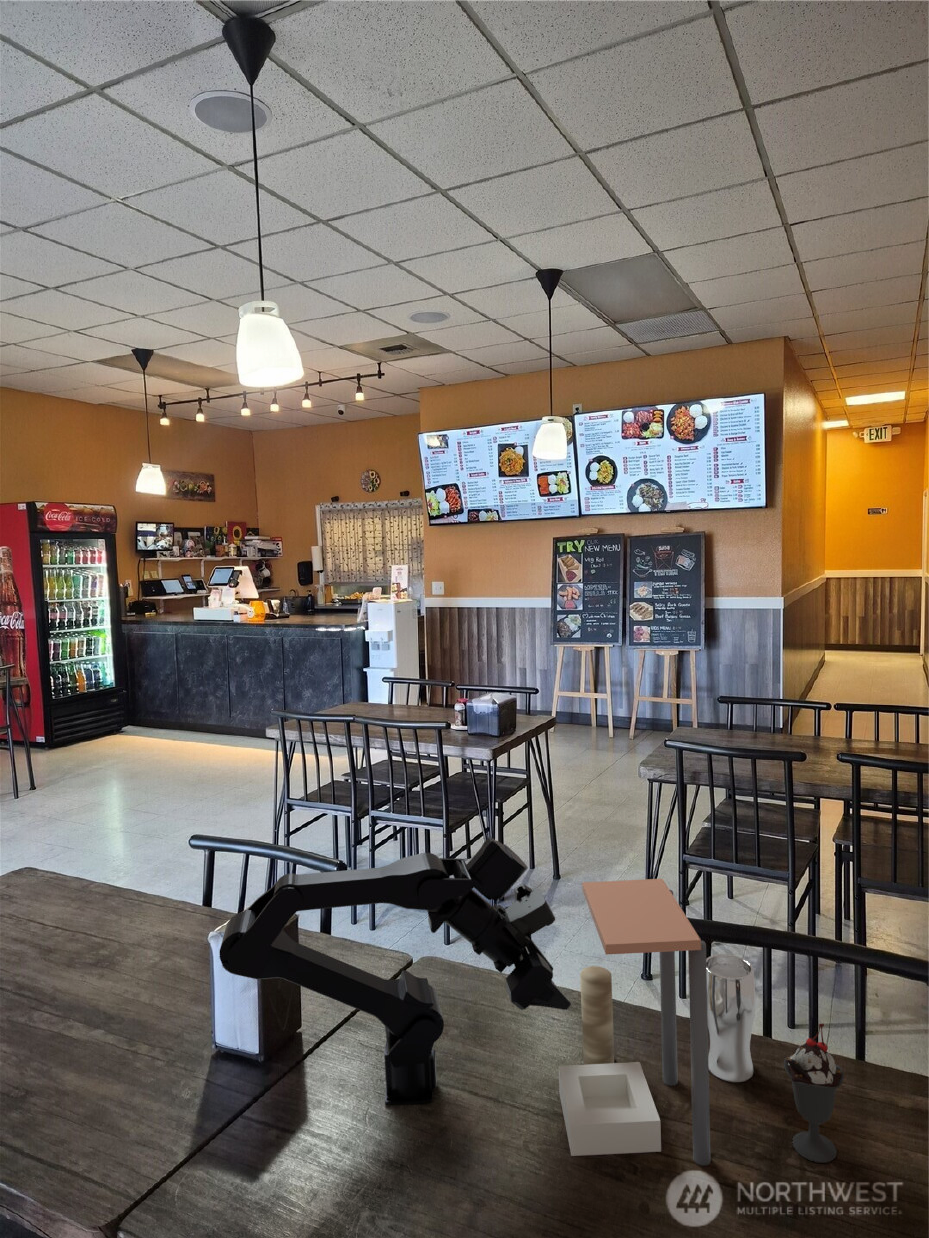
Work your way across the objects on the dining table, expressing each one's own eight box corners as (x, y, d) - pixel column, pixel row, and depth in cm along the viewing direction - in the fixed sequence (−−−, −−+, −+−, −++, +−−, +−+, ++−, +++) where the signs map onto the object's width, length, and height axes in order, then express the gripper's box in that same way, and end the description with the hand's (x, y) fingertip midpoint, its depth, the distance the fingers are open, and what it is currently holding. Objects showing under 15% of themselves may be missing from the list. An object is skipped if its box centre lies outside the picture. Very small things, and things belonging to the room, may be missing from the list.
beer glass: (760, 1086, 106) (759, 981, 105) (707, 1082, 107) (704, 977, 106) (752, 1054, 113) (750, 954, 111) (702, 1050, 114) (699, 951, 113)
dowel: (585, 1071, 111) (582, 983, 110) (581, 1051, 115) (578, 966, 114) (617, 1069, 111) (614, 981, 110) (610, 1050, 115) (608, 965, 114)
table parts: (574, 1175, 92) (566, 946, 90) (556, 1078, 109) (549, 883, 107) (714, 1168, 93) (709, 939, 90) (674, 1072, 109) (669, 878, 107)
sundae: (840, 1132, 97) (839, 1017, 96) (847, 1173, 91) (847, 1051, 90) (783, 1122, 99) (781, 1009, 98) (786, 1161, 93) (785, 1042, 92)
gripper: (533, 907, 100) (619, 979, 102) (504, 853, 118) (577, 915, 121) (475, 974, 99) (563, 1045, 102) (455, 909, 118) (530, 970, 120)
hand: (559, 987), depth 111 cm, fingers open, 9 cm apart
